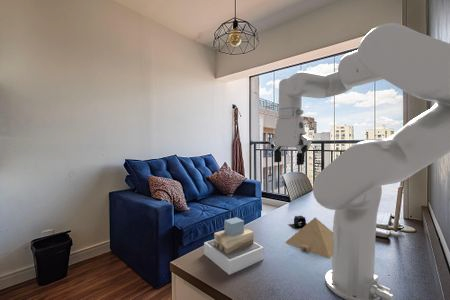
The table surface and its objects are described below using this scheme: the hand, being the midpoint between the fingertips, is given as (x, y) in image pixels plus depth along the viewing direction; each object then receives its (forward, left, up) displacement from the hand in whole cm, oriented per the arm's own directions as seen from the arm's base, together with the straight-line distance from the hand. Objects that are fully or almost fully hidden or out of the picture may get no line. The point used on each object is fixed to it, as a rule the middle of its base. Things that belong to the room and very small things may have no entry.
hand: (288, 163), depth 78 cm
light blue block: (+6, +20, -22) cm, 30 cm away
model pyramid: (-4, -11, -31) cm, 33 cm away
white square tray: (+6, +20, -30) cm, 37 cm away
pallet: (+6, +20, -26) cm, 33 cm away
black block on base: (+9, -20, -31) cm, 38 cm away
